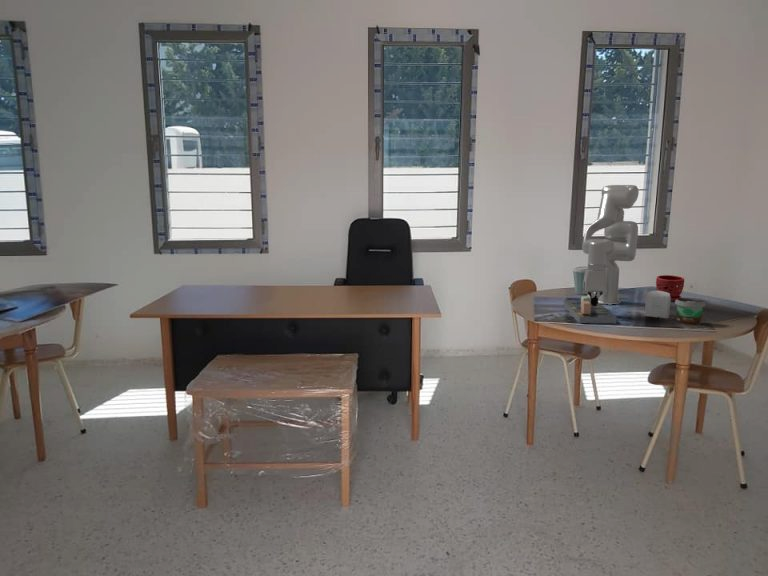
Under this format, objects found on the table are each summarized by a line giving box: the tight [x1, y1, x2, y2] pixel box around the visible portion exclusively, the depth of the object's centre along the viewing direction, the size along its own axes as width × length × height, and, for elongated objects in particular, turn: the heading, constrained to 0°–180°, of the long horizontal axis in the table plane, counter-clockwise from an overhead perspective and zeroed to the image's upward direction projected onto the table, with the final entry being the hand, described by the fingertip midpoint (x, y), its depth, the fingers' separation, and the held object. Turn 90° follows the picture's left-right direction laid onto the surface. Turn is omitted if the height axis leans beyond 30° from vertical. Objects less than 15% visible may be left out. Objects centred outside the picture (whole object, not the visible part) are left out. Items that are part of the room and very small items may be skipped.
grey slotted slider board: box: [563, 299, 617, 325], centre depth 272 cm, size 16×34×3 cm, turn 174°
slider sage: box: [580, 295, 590, 304], centre depth 271 cm, size 3×4×5 cm, turn 174°
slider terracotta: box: [581, 301, 591, 314], centre depth 261 cm, size 3×4×5 cm, turn 174°
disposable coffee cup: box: [572, 265, 588, 296], centre depth 317 cm, size 11×11×15 cm
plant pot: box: [655, 274, 685, 302], centre depth 298 cm, size 13×13×12 cm
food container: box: [674, 299, 707, 325], centre depth 253 cm, size 12×6×10 cm, turn 70°
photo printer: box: [644, 290, 672, 319], centre depth 264 cm, size 10×4×12 cm, turn 56°
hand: (594, 305), depth 271 cm, fingers closed
